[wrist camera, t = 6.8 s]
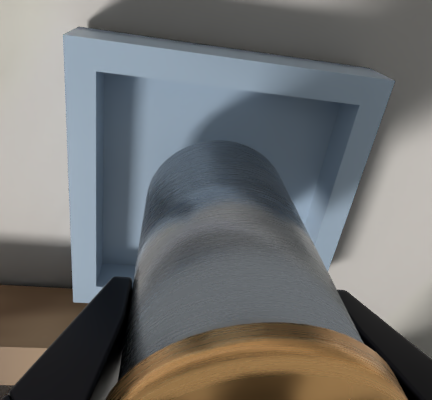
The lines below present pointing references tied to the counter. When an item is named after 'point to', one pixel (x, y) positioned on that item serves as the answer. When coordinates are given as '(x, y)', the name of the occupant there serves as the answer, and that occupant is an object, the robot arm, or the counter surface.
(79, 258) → the tray
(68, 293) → the brown square frame
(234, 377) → the pin
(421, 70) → the counter surface
